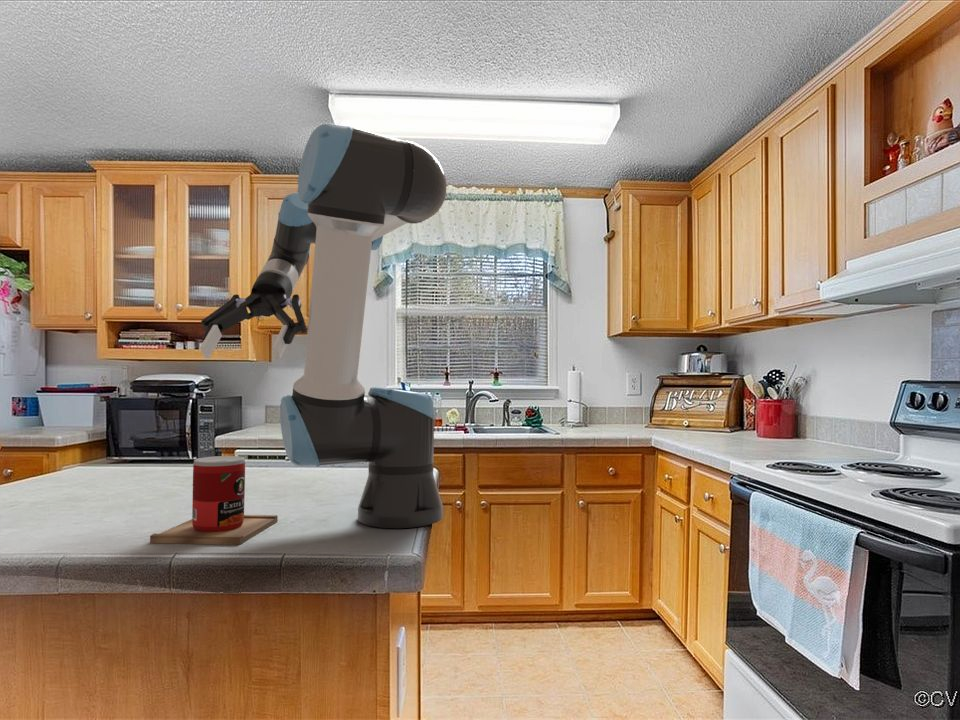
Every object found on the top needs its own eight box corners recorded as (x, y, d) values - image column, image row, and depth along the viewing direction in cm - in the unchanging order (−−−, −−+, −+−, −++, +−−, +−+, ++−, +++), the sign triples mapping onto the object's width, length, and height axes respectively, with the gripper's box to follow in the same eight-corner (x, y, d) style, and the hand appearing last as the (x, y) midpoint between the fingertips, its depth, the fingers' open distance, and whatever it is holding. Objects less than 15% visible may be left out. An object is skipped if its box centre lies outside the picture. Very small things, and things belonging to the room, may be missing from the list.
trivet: (277, 521, 101) (277, 515, 101) (239, 544, 87) (239, 537, 87) (199, 520, 101) (199, 513, 101) (150, 542, 87) (150, 535, 87)
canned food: (225, 534, 90) (226, 463, 90) (180, 531, 91) (181, 461, 91) (253, 522, 97) (255, 456, 97) (212, 519, 99) (213, 455, 99)
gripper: (337, 299, 123) (311, 368, 108) (223, 299, 124) (182, 367, 109) (329, 270, 118) (302, 337, 102) (211, 270, 119) (166, 337, 104)
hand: (240, 353), depth 106 cm, fingers open, 13 cm apart
